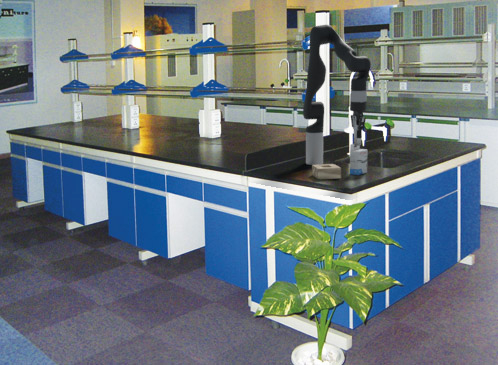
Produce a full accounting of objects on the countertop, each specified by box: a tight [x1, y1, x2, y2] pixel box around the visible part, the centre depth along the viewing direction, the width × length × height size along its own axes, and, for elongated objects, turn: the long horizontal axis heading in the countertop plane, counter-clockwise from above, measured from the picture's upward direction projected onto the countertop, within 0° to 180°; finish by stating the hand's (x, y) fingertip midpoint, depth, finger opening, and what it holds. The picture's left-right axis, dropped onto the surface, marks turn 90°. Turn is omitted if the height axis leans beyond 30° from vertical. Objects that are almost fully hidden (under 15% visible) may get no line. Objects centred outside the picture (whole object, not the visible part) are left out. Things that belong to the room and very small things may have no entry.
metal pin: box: [353, 120, 362, 147], centre depth 283 cm, size 3×3×12 cm
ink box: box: [349, 143, 369, 176], centre depth 298 cm, size 9×5×15 cm, turn 136°
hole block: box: [311, 163, 342, 180], centre depth 293 cm, size 11×11×5 cm
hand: (357, 137), depth 284 cm, fingers closed on metal pin, 3 cm apart
